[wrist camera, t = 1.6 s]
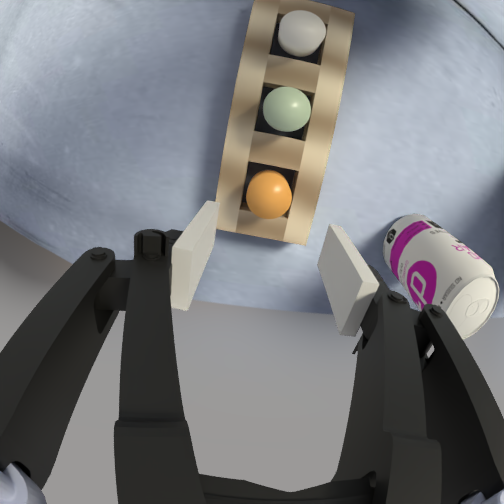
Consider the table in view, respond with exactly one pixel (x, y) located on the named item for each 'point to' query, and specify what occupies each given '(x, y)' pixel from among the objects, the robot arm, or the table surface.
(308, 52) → the button white
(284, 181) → the button orange
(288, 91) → the button green
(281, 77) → the wooden ball rack
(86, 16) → the table surface
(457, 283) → the supplement can
